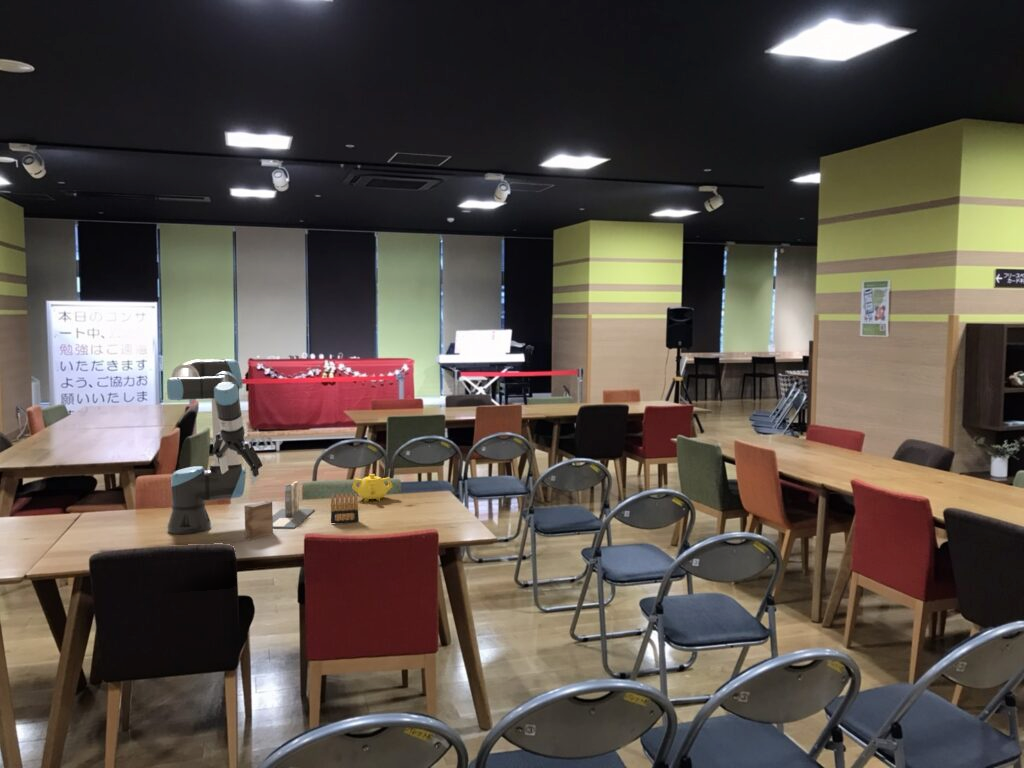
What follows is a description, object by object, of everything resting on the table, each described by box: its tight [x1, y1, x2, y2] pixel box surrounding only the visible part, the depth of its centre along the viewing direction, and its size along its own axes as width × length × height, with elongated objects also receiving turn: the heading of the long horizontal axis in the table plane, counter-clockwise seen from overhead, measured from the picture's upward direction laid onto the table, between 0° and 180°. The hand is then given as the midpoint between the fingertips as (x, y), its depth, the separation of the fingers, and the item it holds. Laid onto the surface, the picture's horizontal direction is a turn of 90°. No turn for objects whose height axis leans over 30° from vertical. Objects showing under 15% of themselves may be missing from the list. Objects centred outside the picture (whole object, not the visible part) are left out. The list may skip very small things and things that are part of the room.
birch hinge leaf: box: [284, 480, 300, 517], centre depth 312 cm, size 12×3×13 cm, turn 178°
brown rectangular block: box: [244, 500, 274, 540], centre depth 283 cm, size 4×10×12 cm, turn 148°
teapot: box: [351, 473, 394, 502], centre depth 339 cm, size 20×18×11 cm
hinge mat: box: [273, 508, 316, 529], centre depth 306 cm, size 28×14×1 cm, turn 178°
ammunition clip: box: [330, 491, 360, 524], centre depth 300 cm, size 11×2×12 cm, turn 107°
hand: (240, 477), depth 268 cm, fingers open, 13 cm apart
